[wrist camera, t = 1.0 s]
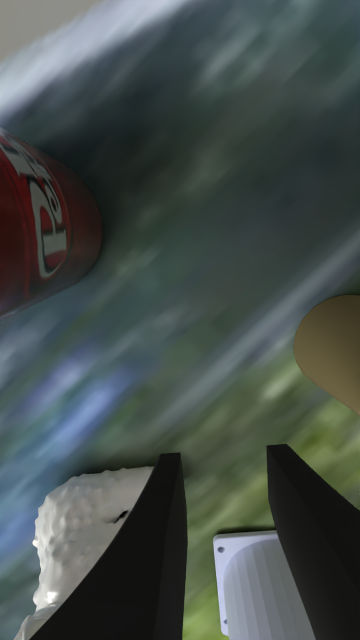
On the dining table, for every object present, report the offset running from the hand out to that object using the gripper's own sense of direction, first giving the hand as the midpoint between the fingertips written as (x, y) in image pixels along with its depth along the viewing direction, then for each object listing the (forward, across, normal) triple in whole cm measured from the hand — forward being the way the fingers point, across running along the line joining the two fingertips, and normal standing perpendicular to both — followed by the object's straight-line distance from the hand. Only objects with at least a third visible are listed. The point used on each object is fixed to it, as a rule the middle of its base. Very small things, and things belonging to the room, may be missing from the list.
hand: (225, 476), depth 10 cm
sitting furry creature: (+11, +8, +10) cm, 17 cm away
